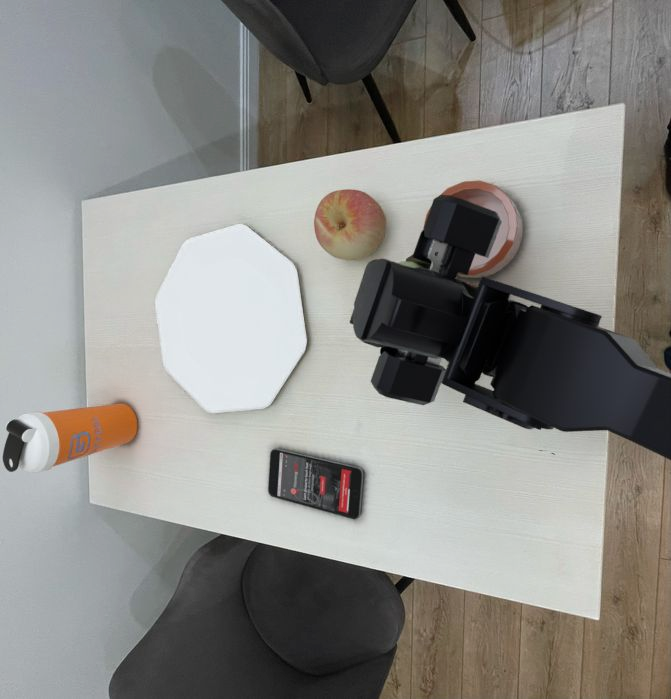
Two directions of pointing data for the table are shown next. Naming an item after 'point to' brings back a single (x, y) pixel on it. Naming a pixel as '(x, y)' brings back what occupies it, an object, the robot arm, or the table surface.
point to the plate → (231, 320)
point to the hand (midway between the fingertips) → (400, 287)
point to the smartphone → (316, 483)
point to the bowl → (508, 230)
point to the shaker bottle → (66, 435)
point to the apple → (349, 224)
